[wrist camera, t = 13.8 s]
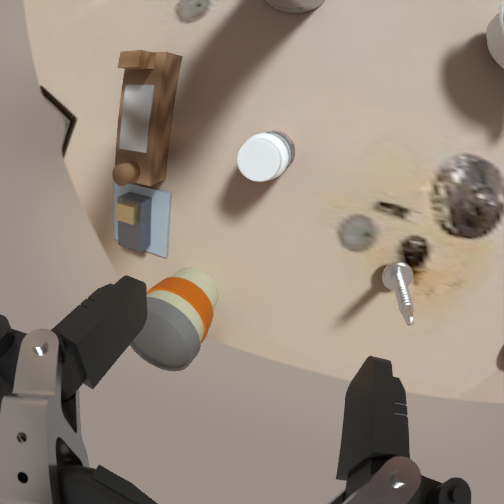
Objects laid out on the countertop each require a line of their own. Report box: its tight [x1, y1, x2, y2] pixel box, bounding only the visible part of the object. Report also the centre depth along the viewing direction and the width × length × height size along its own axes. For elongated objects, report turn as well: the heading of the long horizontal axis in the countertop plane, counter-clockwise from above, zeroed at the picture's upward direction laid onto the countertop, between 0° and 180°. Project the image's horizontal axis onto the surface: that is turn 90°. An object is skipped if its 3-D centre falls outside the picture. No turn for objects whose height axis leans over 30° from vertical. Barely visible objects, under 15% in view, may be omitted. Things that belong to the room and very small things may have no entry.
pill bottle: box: [237, 131, 295, 182], centre depth 34 cm, size 6×6×10 cm
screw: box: [382, 261, 414, 326], centre depth 35 cm, size 13×5×5 cm
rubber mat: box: [114, 181, 172, 258], centre depth 49 cm, size 12×12×1 cm
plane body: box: [113, 50, 182, 186], centre depth 37 cm, size 20×7×8 cm, turn 169°
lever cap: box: [116, 192, 152, 253], centre depth 47 cm, size 9×5×4 cm, turn 169°
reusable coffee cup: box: [130, 268, 218, 371], centre depth 46 cm, size 13×13×15 cm
